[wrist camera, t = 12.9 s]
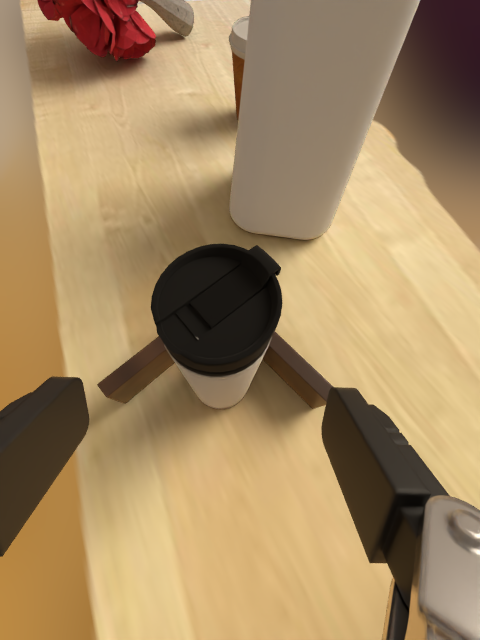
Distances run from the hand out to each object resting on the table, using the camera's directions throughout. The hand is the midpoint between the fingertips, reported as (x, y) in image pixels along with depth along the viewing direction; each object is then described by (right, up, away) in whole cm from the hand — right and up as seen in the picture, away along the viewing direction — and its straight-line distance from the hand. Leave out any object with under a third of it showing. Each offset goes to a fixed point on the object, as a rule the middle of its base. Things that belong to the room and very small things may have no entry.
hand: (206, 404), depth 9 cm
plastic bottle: (+7, +21, +33) cm, 40 cm away
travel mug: (-1, -4, +22) cm, 22 cm away
